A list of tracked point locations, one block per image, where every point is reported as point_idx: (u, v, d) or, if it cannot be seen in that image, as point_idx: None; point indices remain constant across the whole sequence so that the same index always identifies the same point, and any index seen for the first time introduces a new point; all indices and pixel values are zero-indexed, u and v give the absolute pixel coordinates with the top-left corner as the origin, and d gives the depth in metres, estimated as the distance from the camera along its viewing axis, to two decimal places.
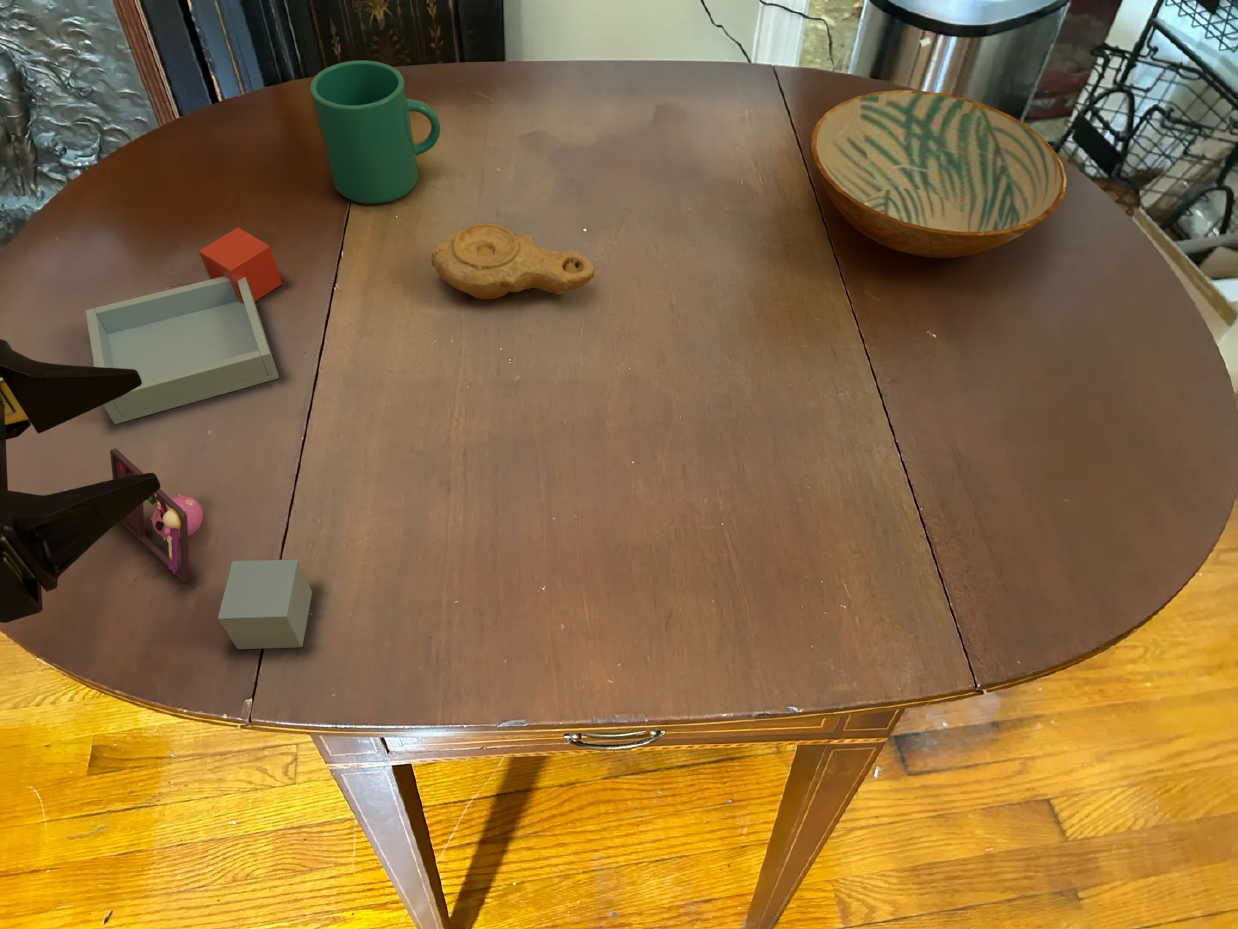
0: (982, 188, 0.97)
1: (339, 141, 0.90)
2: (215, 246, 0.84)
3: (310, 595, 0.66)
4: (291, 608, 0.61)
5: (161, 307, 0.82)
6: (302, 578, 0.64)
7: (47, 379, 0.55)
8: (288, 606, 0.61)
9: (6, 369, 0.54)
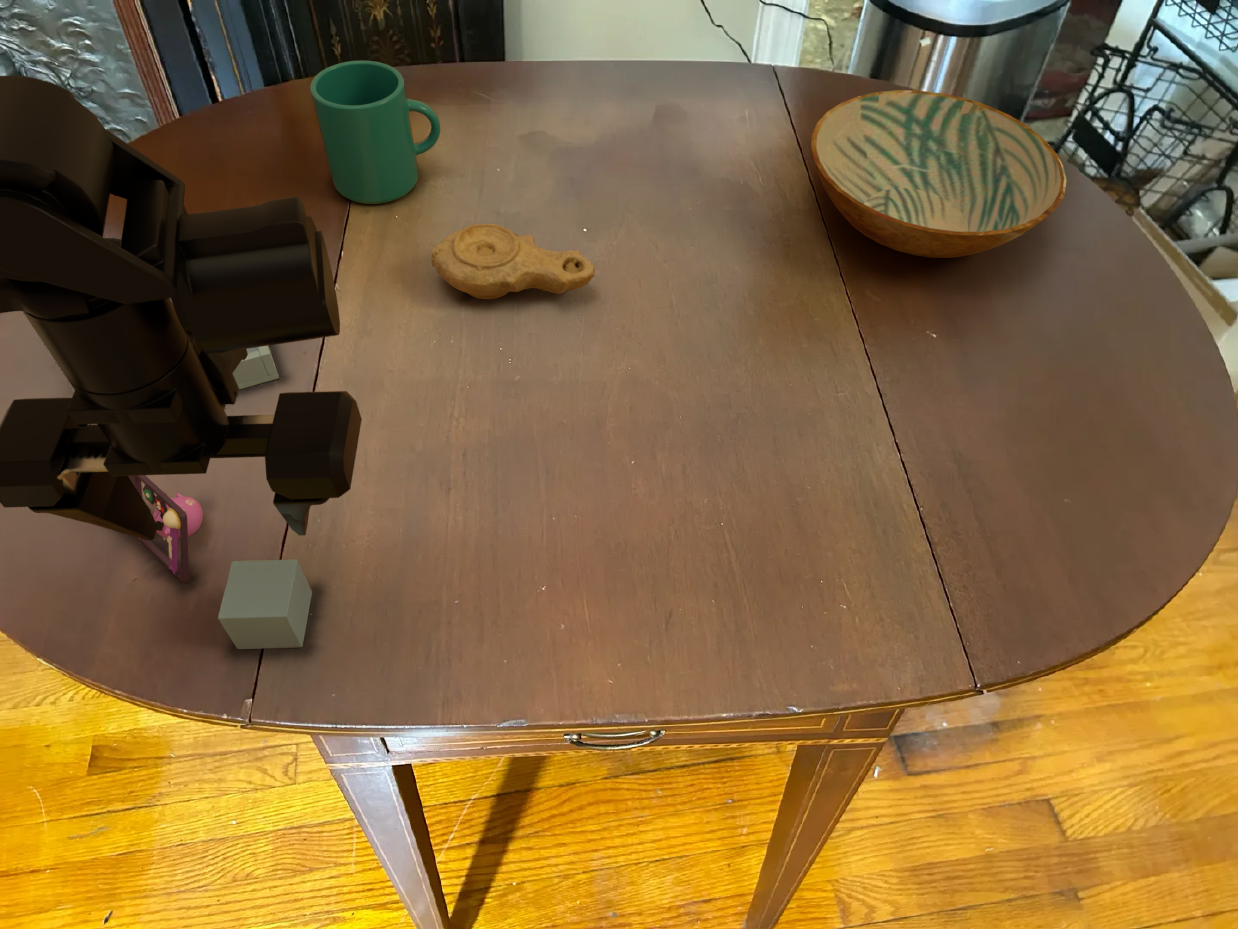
0: (982, 188, 0.97)
1: (339, 141, 0.90)
2: None
3: (310, 595, 0.66)
4: (291, 608, 0.61)
5: None
6: (302, 578, 0.64)
7: None
8: (288, 606, 0.61)
9: None
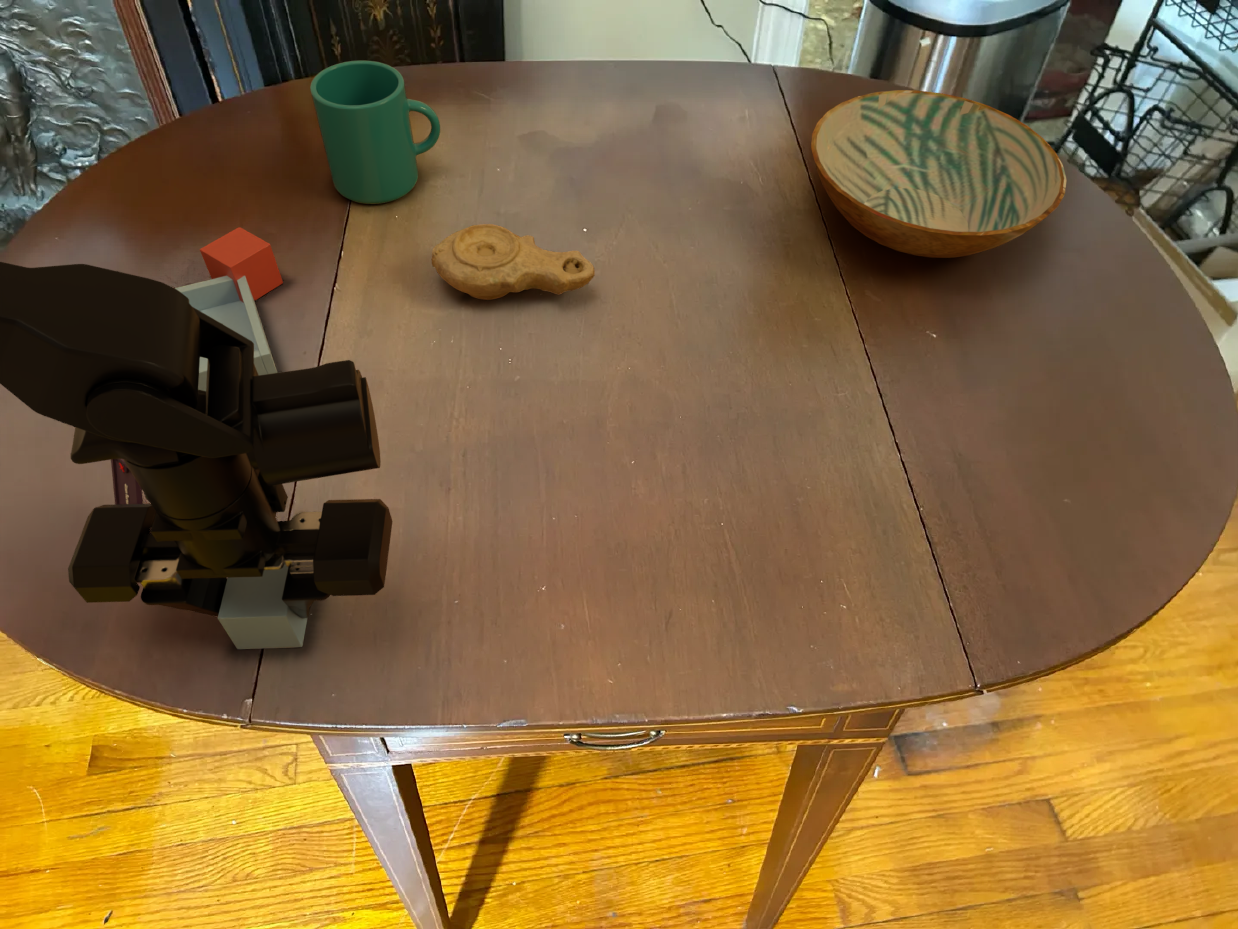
0: (982, 188, 0.97)
1: (339, 141, 0.90)
2: (216, 244, 0.84)
3: None
4: None
5: None
6: None
7: None
8: None
9: None
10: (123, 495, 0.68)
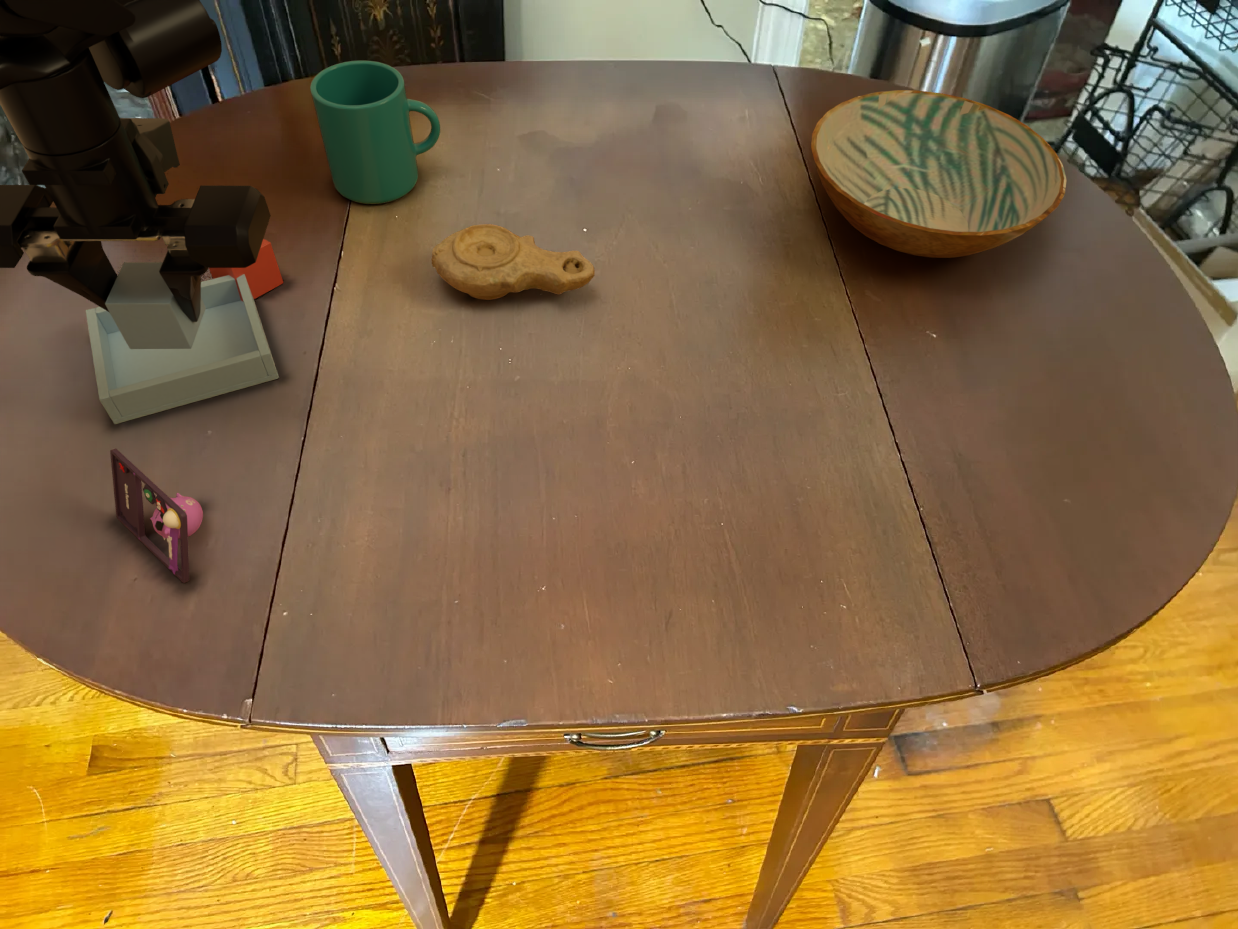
0: (982, 188, 0.97)
1: (339, 141, 0.90)
2: None
3: (203, 308, 0.70)
4: None
5: None
6: None
7: (105, 256, 0.65)
8: (173, 297, 0.64)
9: None
10: (123, 495, 0.68)
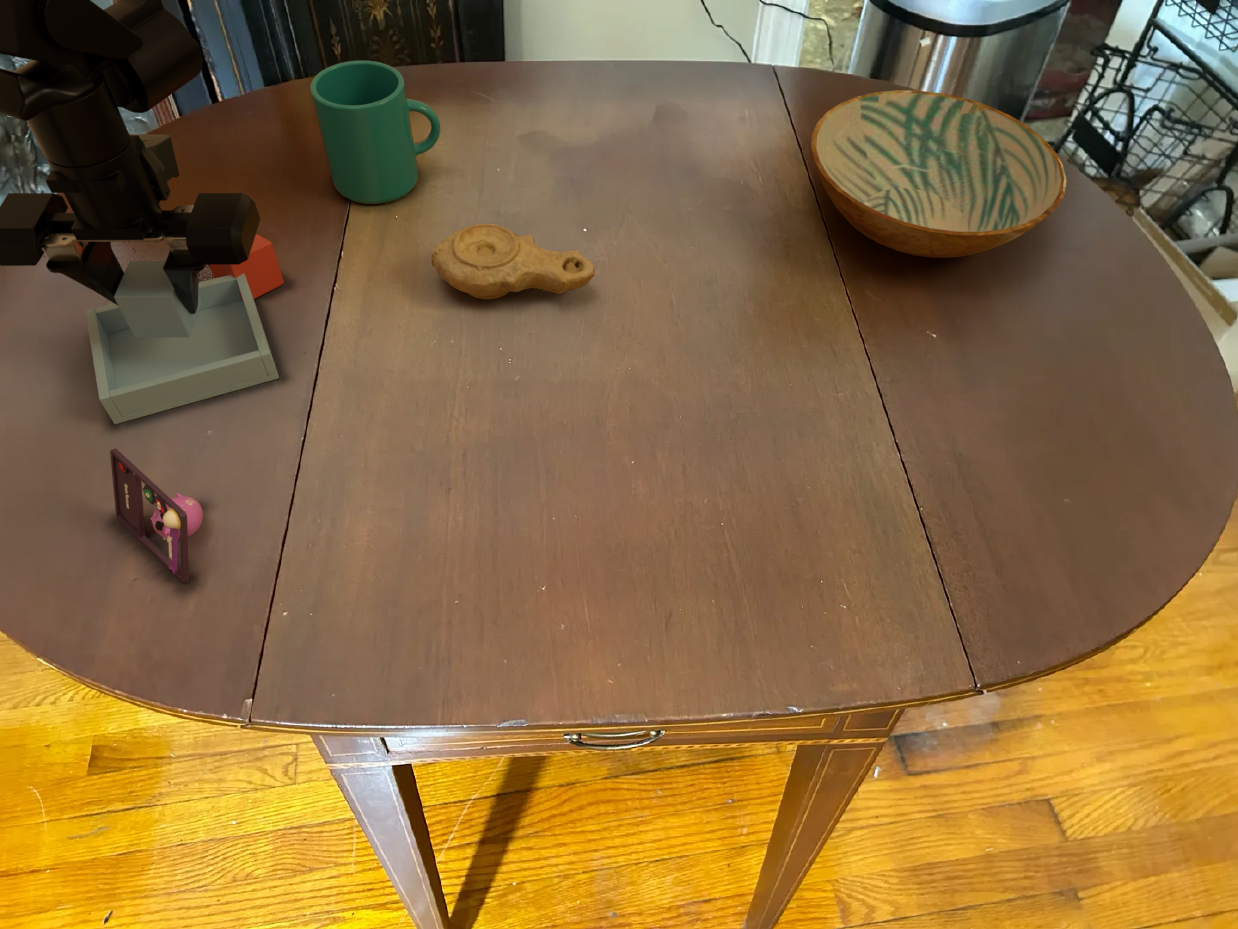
0: (982, 188, 0.97)
1: (339, 141, 0.90)
2: None
3: (199, 301, 0.78)
4: (176, 294, 0.74)
5: None
6: None
7: (113, 256, 0.73)
8: (174, 290, 0.73)
9: None
10: (123, 495, 0.68)
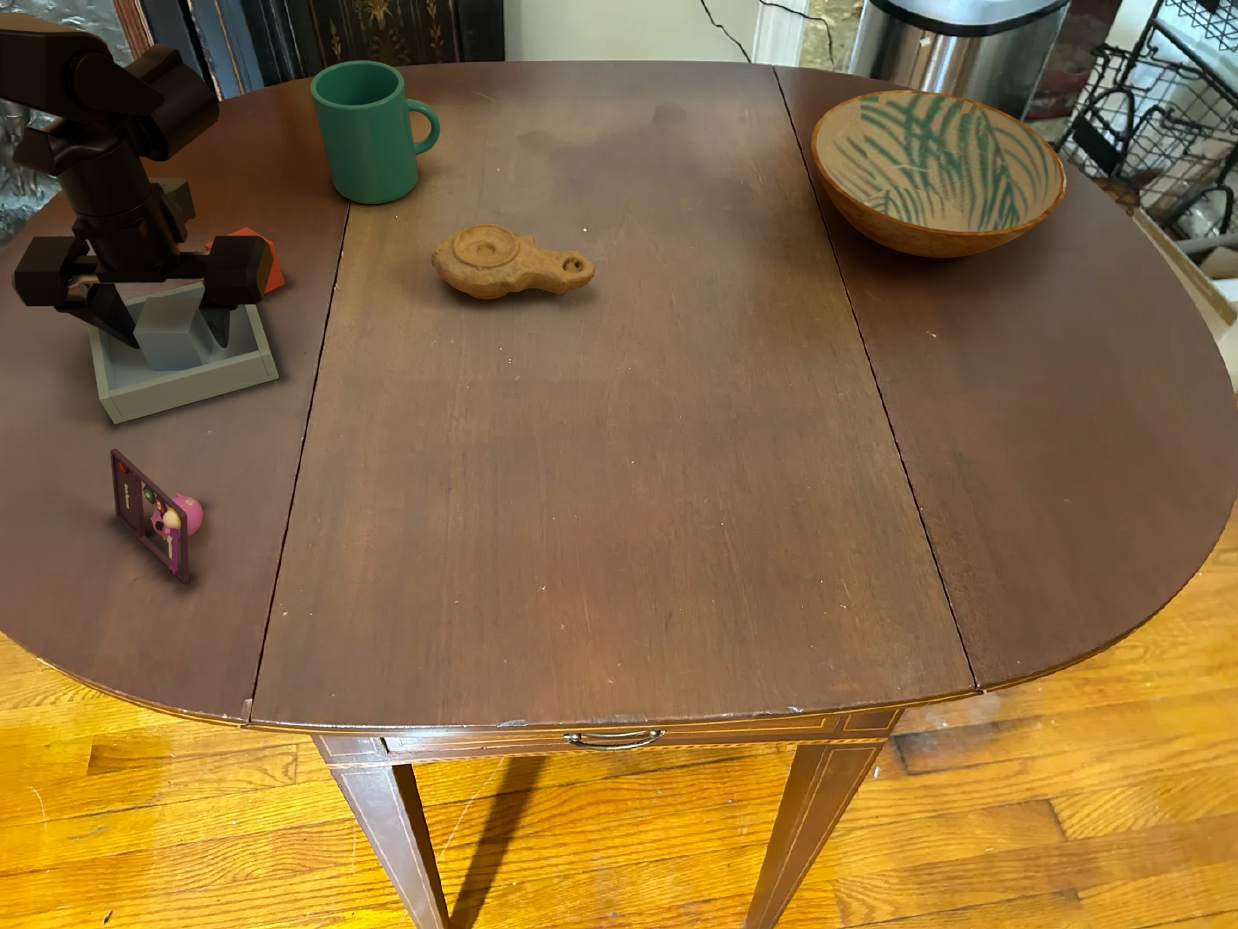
0: (982, 188, 0.97)
1: (339, 141, 0.90)
2: None
3: None
4: (193, 329, 0.77)
5: None
6: None
7: (117, 294, 0.77)
8: (190, 326, 0.76)
9: None
10: (123, 495, 0.68)
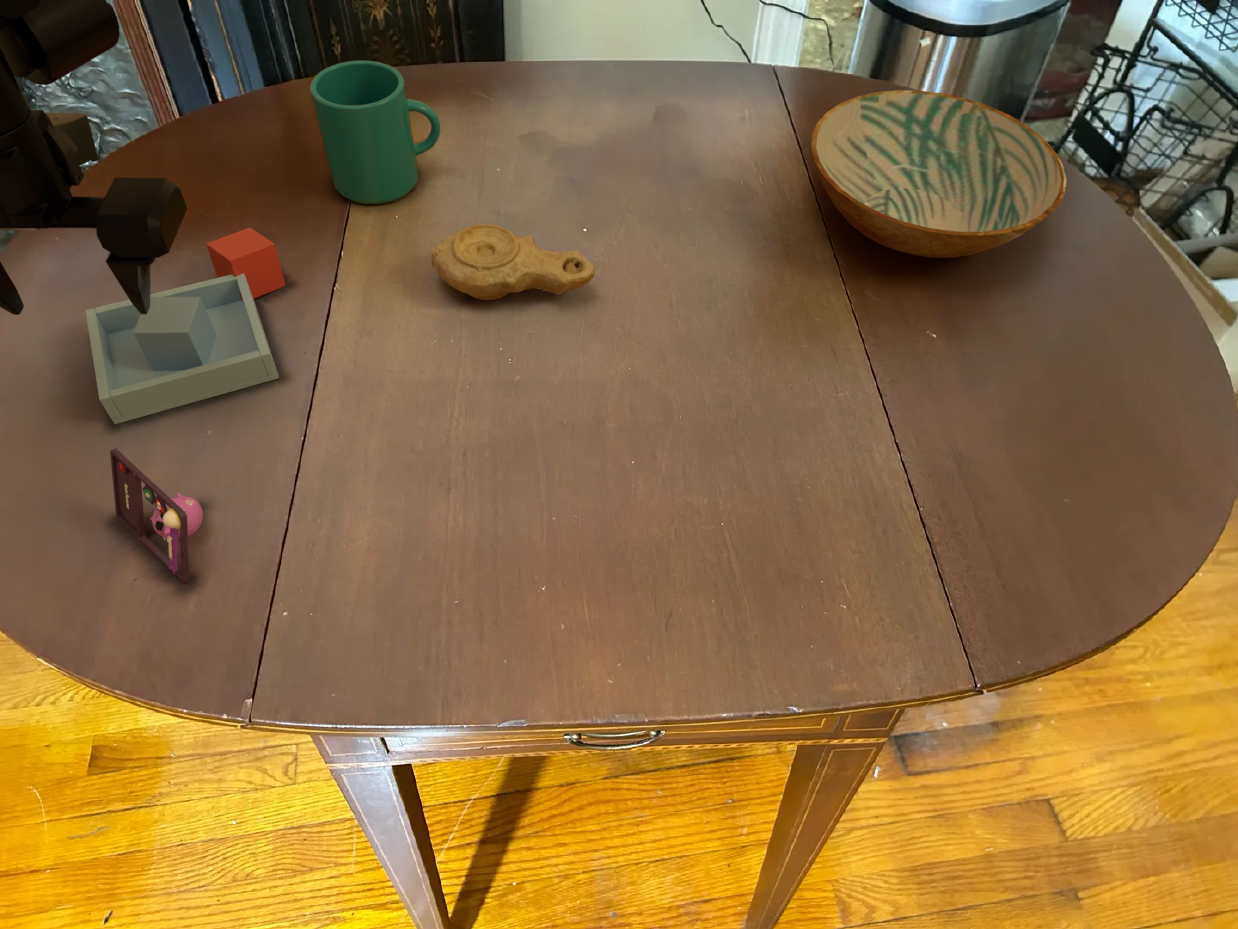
0: (982, 188, 0.97)
1: (339, 141, 0.90)
2: (223, 240, 0.85)
3: (214, 334, 0.81)
4: (193, 329, 0.77)
5: None
6: (205, 315, 0.79)
7: None
8: (190, 326, 0.76)
9: None
10: (123, 495, 0.68)
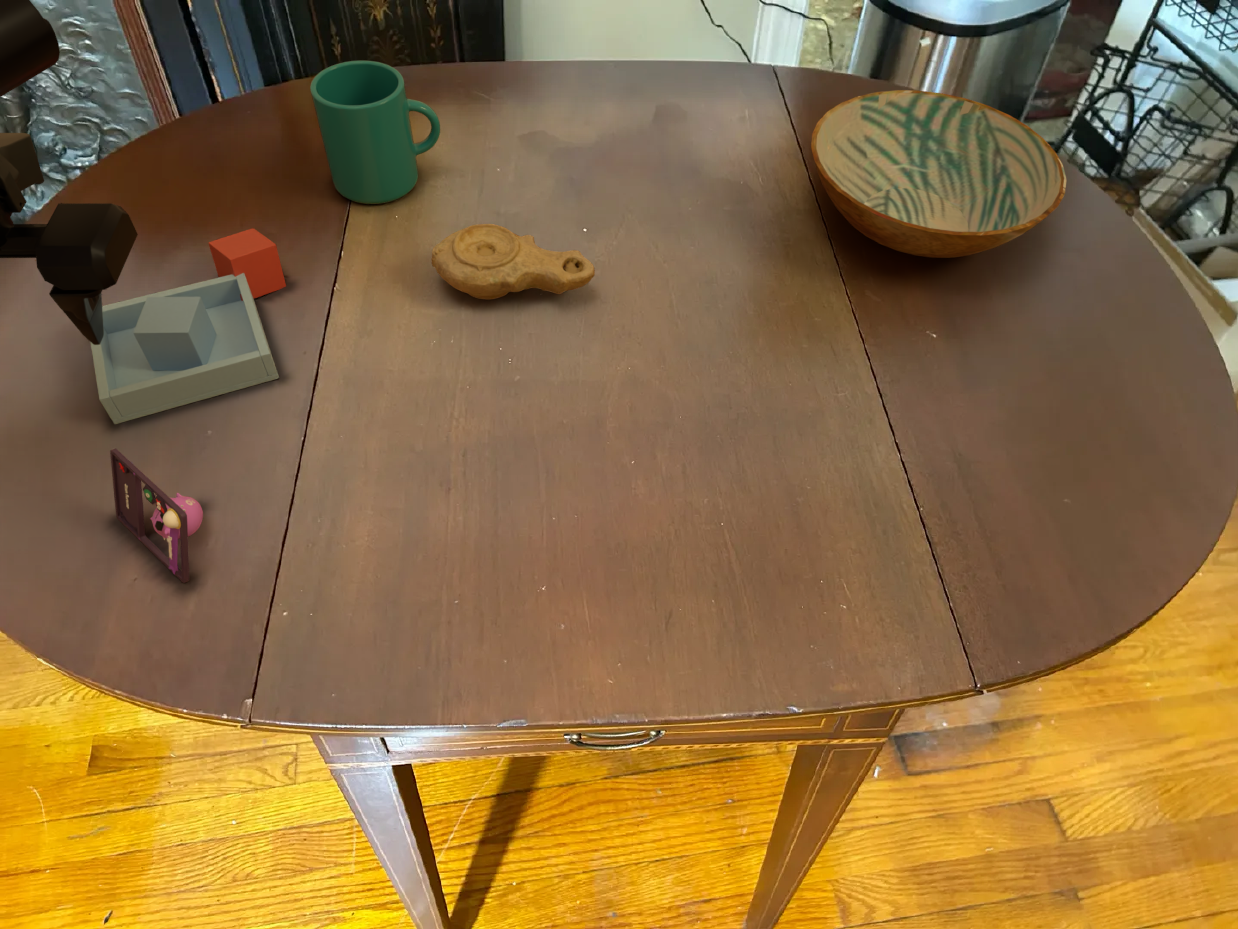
0: (982, 188, 0.97)
1: (339, 141, 0.90)
2: (225, 240, 0.85)
3: (214, 334, 0.81)
4: (193, 329, 0.77)
5: None
6: (205, 315, 0.79)
7: None
8: (190, 326, 0.76)
9: None
10: (123, 495, 0.68)
